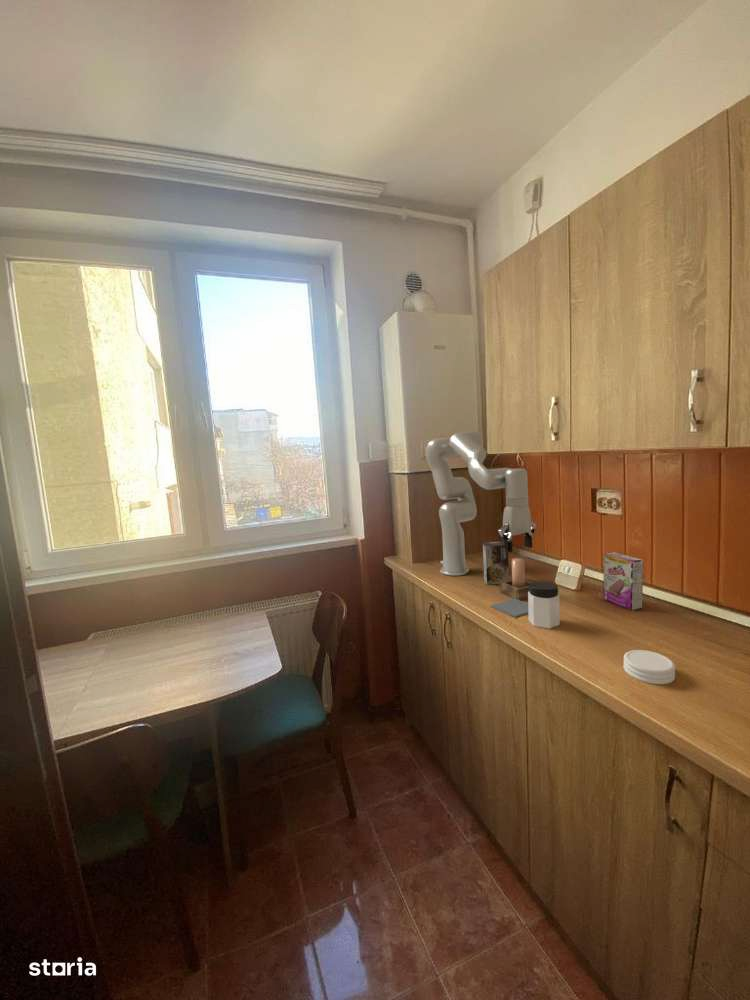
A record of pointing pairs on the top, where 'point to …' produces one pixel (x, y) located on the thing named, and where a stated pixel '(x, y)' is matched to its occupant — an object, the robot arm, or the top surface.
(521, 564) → the peg
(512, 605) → the mat
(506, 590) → the brown square box
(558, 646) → the top surface
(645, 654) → the coaster
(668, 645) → the top surface
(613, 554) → the candy bar box
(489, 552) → the coffee box
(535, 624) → the jar
